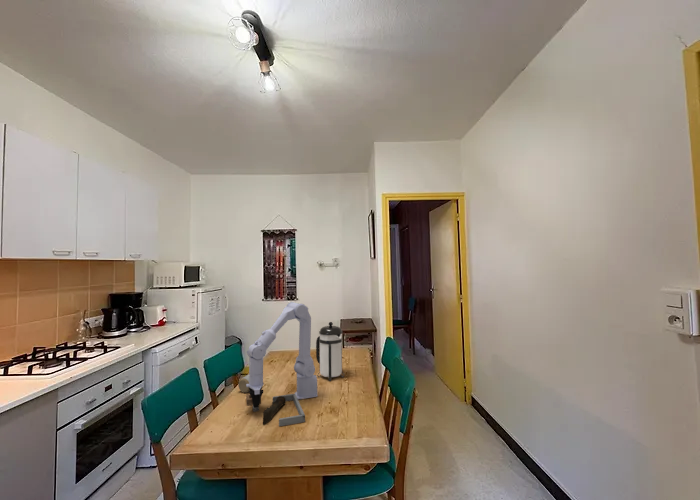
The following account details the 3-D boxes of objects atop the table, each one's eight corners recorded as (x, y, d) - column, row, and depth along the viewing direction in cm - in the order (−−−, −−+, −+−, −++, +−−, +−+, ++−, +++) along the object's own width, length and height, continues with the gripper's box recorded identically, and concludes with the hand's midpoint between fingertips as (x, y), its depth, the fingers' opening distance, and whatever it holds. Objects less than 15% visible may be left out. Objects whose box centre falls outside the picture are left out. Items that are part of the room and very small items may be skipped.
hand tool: (277, 404, 142) (277, 393, 142) (285, 405, 141) (285, 394, 141) (256, 425, 123) (256, 413, 123) (266, 426, 122) (266, 413, 122)
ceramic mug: (236, 392, 155) (237, 376, 155) (248, 386, 162) (248, 371, 163) (254, 396, 151) (254, 379, 151) (265, 389, 158) (265, 374, 159)
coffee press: (346, 372, 183) (345, 319, 185) (342, 382, 167) (342, 324, 169) (316, 371, 185) (316, 319, 187) (310, 381, 169) (310, 324, 171)
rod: (258, 408, 137) (258, 391, 137) (259, 411, 134) (259, 394, 135) (252, 409, 136) (252, 392, 136) (252, 412, 134) (253, 395, 134)
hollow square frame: (259, 398, 147) (260, 392, 147) (260, 403, 142) (261, 397, 142) (246, 400, 145) (246, 394, 145) (246, 405, 140) (246, 399, 140)
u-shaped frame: (294, 399, 146) (294, 393, 146) (305, 421, 125) (305, 415, 125) (272, 402, 143) (272, 396, 143) (279, 426, 121) (279, 419, 121)
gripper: (245, 369, 141) (245, 400, 141) (246, 379, 128) (246, 414, 127) (262, 367, 144) (262, 397, 143) (265, 377, 130) (264, 411, 130)
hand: (255, 405), depth 135 cm, fingers closed on rod, 3 cm apart
